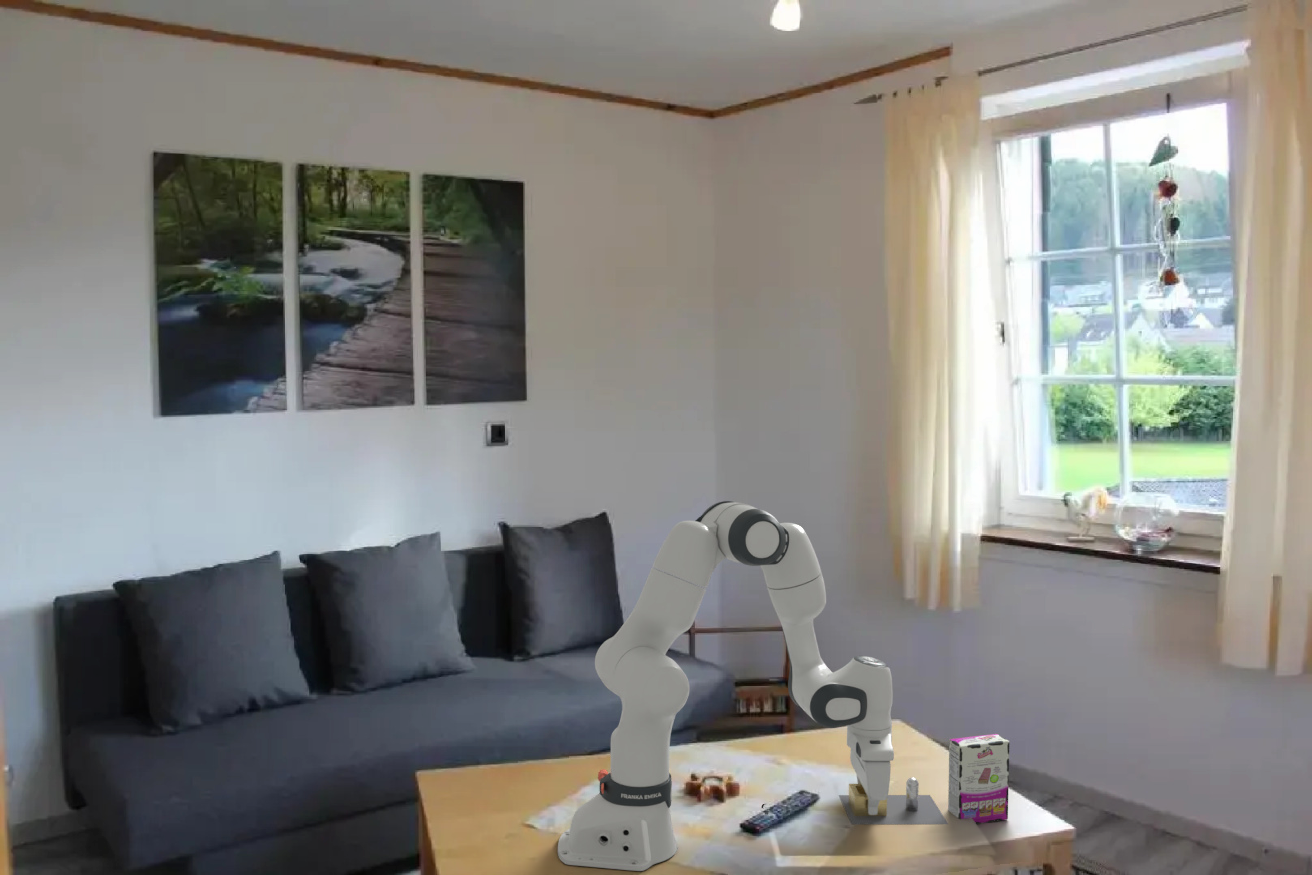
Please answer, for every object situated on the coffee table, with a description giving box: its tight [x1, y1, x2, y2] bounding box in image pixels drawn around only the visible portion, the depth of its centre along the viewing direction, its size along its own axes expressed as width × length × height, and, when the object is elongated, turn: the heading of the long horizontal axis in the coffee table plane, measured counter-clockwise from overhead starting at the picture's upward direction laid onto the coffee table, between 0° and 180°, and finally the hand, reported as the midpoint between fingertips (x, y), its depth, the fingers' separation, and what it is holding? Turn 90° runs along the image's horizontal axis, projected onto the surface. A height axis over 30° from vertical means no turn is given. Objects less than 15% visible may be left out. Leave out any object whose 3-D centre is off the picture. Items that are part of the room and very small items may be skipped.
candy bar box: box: [947, 733, 1010, 825], centre depth 231 cm, size 11×5×16 cm, turn 105°
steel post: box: [905, 777, 920, 812], centre depth 232 cm, size 2×2×6 cm
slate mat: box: [838, 794, 949, 825], centre depth 232 cm, size 19×14×2 cm
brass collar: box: [848, 783, 887, 816], centre depth 232 cm, size 6×6×4 cm
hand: (867, 803), depth 232 cm, fingers open, 8 cm apart
